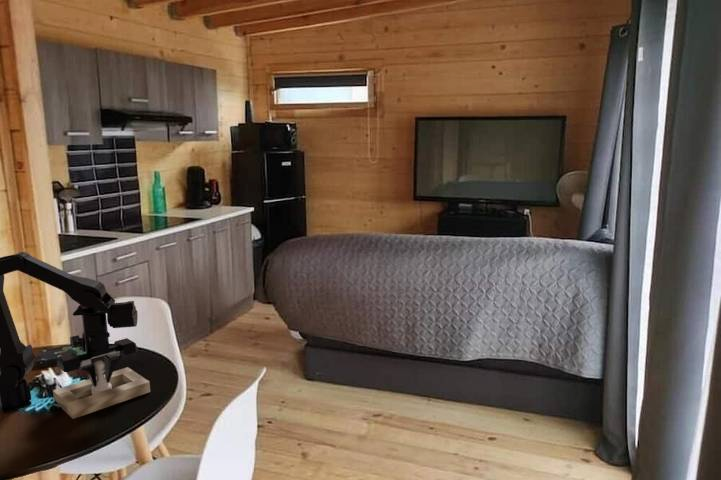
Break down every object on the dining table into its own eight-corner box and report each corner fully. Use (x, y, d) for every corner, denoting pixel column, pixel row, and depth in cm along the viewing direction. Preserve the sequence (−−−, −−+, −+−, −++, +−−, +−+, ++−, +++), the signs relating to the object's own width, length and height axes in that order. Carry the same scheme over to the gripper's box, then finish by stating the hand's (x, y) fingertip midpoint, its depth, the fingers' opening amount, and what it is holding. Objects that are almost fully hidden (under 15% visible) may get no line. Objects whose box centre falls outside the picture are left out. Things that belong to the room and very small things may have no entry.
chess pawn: (113, 386, 151) (110, 356, 149) (110, 395, 146) (107, 363, 144) (93, 389, 149) (90, 358, 148) (89, 397, 144) (86, 365, 143)
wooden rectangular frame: (72, 419, 136) (71, 408, 135) (54, 400, 146) (52, 390, 145) (150, 391, 150) (149, 381, 149) (128, 376, 160) (127, 367, 159)
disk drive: (36, 370, 166) (90, 361, 172) (34, 361, 166) (89, 353, 172) (40, 357, 176) (91, 349, 182) (39, 349, 175) (90, 341, 181)
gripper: (118, 314, 156) (123, 365, 159) (46, 330, 143) (53, 386, 146) (135, 323, 149) (140, 376, 152) (61, 341, 135) (68, 399, 138)
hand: (101, 384), depth 147 cm, fingers closed on chess pawn, 3 cm apart
